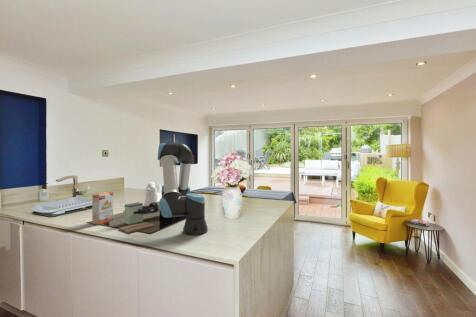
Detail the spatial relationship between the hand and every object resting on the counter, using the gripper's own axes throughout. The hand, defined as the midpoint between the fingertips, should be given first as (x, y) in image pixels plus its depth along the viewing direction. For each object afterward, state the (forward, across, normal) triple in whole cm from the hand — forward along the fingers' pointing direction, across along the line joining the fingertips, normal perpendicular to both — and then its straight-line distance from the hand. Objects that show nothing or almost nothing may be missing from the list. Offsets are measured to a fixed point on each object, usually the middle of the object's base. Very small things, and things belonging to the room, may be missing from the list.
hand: (126, 213), depth 165 cm
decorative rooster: (-40, +24, -8) cm, 47 cm away
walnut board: (-1, -13, -8) cm, 15 cm away
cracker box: (+6, +20, -8) cm, 23 cm away
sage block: (-6, 0, -8) cm, 9 cm away
